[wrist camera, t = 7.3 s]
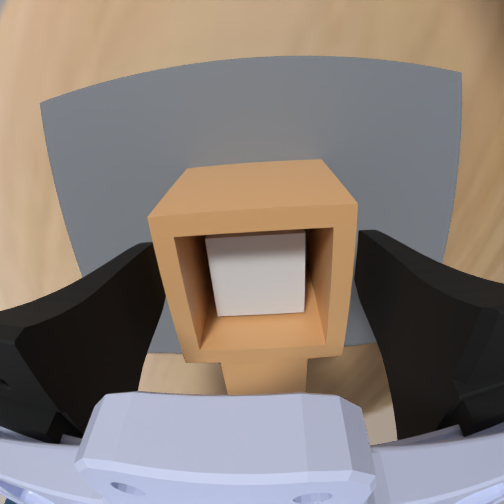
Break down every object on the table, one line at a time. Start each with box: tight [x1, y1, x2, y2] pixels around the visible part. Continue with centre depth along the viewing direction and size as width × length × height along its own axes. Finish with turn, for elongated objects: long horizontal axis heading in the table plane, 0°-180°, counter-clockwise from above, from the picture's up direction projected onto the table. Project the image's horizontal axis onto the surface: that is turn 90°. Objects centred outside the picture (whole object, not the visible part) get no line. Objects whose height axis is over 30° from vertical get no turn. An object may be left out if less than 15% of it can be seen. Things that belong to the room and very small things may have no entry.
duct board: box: [40, 56, 462, 353], centre depth 12 cm, size 18×14×4 cm
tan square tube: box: [147, 159, 358, 395], centre depth 12 cm, size 9×5×5 cm, turn 4°
